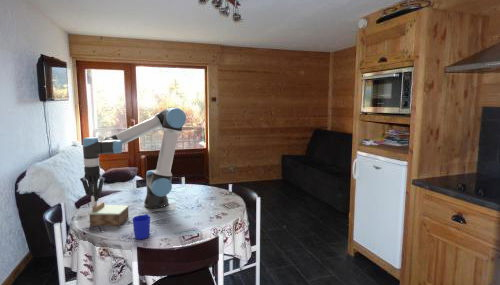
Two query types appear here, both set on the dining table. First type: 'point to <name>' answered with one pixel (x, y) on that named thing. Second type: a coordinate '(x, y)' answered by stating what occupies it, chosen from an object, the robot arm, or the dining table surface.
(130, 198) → the dining table surface
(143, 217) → the mug
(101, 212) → the lid
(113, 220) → the box
